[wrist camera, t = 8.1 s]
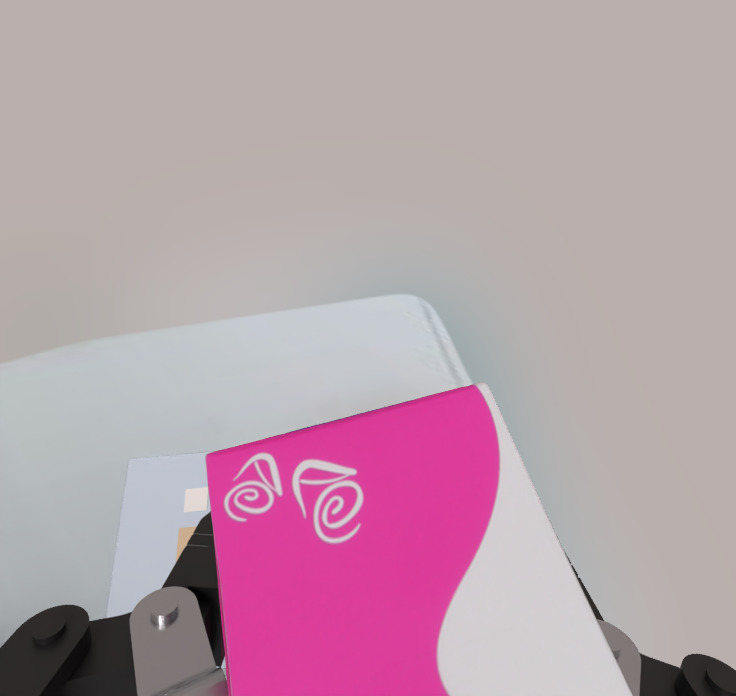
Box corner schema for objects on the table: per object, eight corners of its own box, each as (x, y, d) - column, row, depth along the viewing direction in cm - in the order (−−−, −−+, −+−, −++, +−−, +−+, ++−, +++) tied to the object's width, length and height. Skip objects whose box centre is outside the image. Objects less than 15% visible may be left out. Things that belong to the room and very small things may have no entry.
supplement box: (415, 488, 19) (499, 371, 9) (467, 650, 16) (675, 752, 6) (278, 527, 18) (194, 447, 8) (310, 707, 15) (245, 944, 5)
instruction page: (97, 684, 24) (94, 685, 23) (130, 459, 29) (128, 458, 29) (269, 661, 24) (268, 662, 24) (269, 447, 30) (268, 446, 30)
